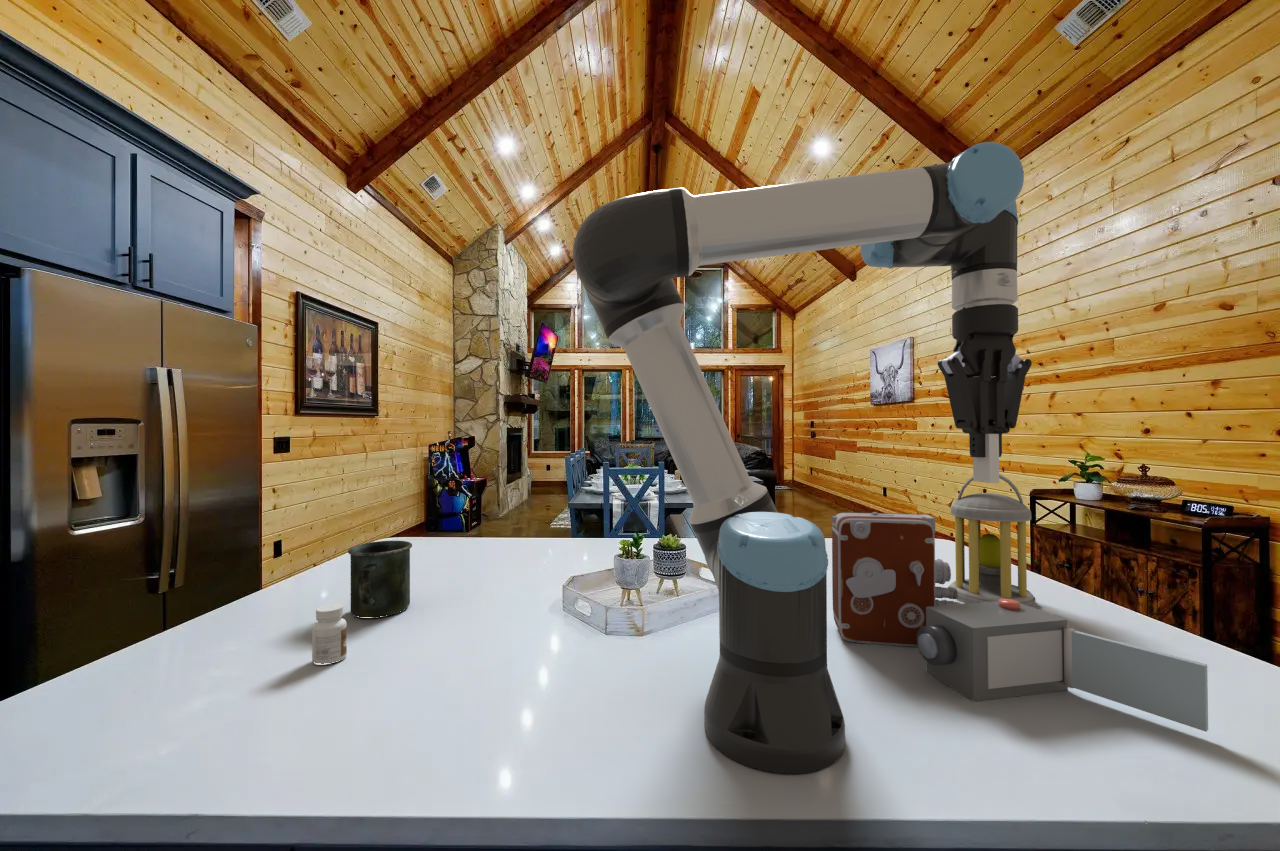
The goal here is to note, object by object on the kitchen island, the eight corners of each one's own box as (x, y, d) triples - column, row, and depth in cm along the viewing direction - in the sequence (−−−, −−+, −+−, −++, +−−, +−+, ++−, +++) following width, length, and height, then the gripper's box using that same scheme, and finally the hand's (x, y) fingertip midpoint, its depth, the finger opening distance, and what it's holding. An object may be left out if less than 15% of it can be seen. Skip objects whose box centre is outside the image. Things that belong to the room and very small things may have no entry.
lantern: (945, 601, 102) (944, 473, 102) (951, 584, 113) (950, 468, 114) (1037, 616, 94) (1035, 476, 94) (1033, 595, 105) (1032, 471, 106)
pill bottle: (351, 659, 78) (351, 607, 78) (317, 669, 74) (317, 614, 74) (341, 651, 81) (341, 600, 81) (308, 660, 77) (308, 607, 77)
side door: (1209, 729, 57) (1208, 662, 57) (1206, 733, 56) (1204, 665, 56) (1067, 682, 67) (1066, 626, 67) (1062, 685, 67) (1062, 628, 67)
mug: (419, 599, 105) (418, 539, 105) (397, 625, 91) (397, 556, 91) (361, 602, 104) (361, 541, 104) (329, 629, 89) (329, 559, 89)
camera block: (957, 704, 64) (956, 623, 64) (910, 673, 72) (909, 602, 72) (1069, 690, 67) (1068, 613, 67) (1012, 663, 75) (1011, 594, 75)
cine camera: (978, 656, 78) (977, 520, 78) (839, 645, 81) (838, 517, 82) (954, 632, 87) (953, 511, 87) (830, 624, 90) (829, 508, 91)
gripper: (964, 299, 66) (966, 486, 66) (1050, 303, 69) (1052, 483, 69) (922, 312, 74) (923, 480, 74) (1001, 315, 76) (1002, 478, 76)
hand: (986, 481), depth 71 cm, fingers closed
